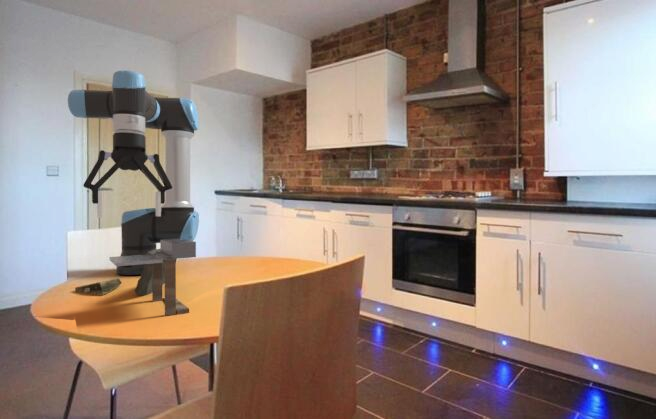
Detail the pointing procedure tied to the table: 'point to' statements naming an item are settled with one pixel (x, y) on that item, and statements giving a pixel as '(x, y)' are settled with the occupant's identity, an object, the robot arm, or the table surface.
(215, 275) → the table surface
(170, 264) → the frame
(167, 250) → the trapdoor
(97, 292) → the rock
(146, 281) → the marble piece
